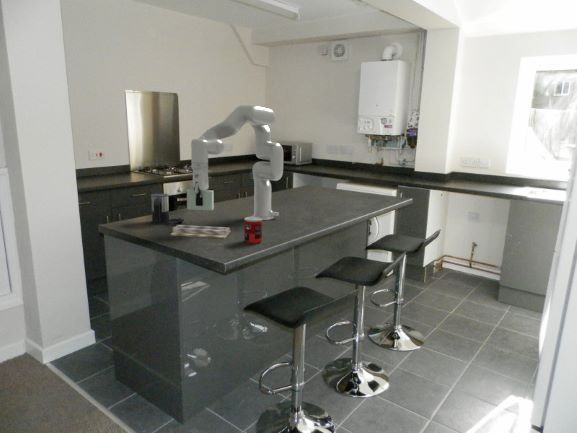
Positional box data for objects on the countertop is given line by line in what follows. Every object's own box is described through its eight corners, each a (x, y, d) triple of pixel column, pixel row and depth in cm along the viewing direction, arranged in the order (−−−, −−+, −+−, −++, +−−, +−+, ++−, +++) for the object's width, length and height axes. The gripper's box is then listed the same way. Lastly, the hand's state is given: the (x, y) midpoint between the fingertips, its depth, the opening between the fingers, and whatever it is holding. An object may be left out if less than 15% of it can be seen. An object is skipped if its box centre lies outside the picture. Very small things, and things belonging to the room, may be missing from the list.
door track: (230, 231, 206) (230, 226, 205) (224, 238, 194) (224, 232, 194) (179, 229, 208) (179, 223, 208) (170, 235, 197) (170, 229, 196)
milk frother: (151, 220, 224) (149, 193, 220) (181, 218, 230) (180, 192, 226) (153, 227, 211) (152, 198, 208) (185, 224, 217) (184, 196, 214)
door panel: (213, 209, 199) (213, 190, 197) (211, 210, 196) (211, 191, 194) (189, 207, 201) (189, 189, 199) (187, 209, 198) (186, 190, 196)
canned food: (244, 239, 193) (244, 216, 191) (261, 239, 194) (261, 216, 191) (244, 244, 186) (244, 220, 183) (262, 244, 186) (262, 220, 184)
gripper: (202, 168, 186) (202, 208, 190) (212, 164, 202) (213, 202, 206) (185, 167, 186) (186, 207, 191) (197, 164, 202) (198, 201, 206)
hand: (200, 204), depth 198 cm, fingers closed on door panel, 3 cm apart
